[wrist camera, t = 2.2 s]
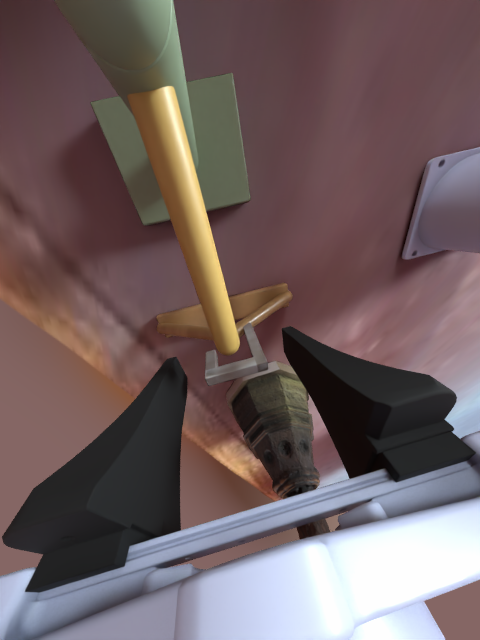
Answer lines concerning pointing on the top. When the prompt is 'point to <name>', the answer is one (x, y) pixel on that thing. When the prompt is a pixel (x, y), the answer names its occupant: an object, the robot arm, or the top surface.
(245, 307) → the hanger
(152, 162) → the stand
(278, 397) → the bird statue
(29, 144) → the top surface
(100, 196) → the top surface
